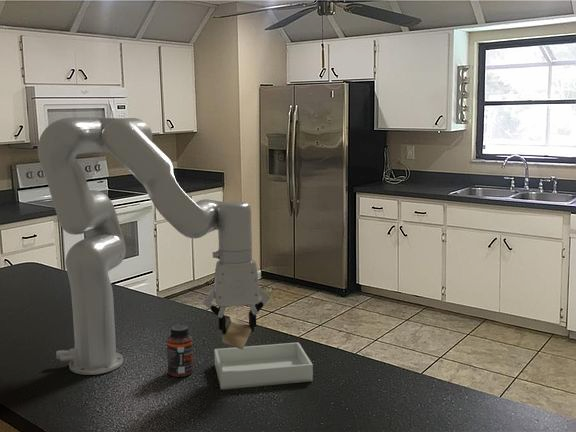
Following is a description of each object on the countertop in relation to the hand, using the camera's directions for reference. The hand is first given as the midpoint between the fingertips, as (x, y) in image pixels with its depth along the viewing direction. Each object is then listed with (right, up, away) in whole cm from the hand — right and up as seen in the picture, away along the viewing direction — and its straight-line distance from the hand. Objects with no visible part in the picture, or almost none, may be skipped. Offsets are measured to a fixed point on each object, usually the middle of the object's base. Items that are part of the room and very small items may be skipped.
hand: (237, 330), depth 144 cm
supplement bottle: (-14, -11, +3) cm, 18 cm away
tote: (+6, -11, +3) cm, 12 cm away
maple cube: (-1, -3, 0) cm, 3 cm away
